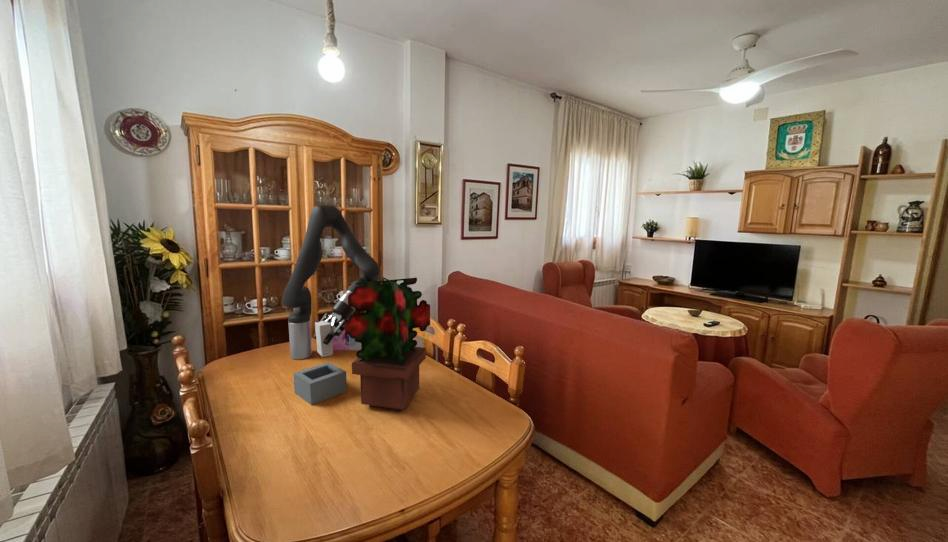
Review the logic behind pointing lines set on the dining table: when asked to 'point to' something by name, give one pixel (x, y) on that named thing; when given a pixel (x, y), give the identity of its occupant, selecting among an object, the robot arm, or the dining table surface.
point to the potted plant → (387, 341)
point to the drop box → (320, 382)
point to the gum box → (345, 342)
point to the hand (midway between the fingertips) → (319, 341)
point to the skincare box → (321, 332)
